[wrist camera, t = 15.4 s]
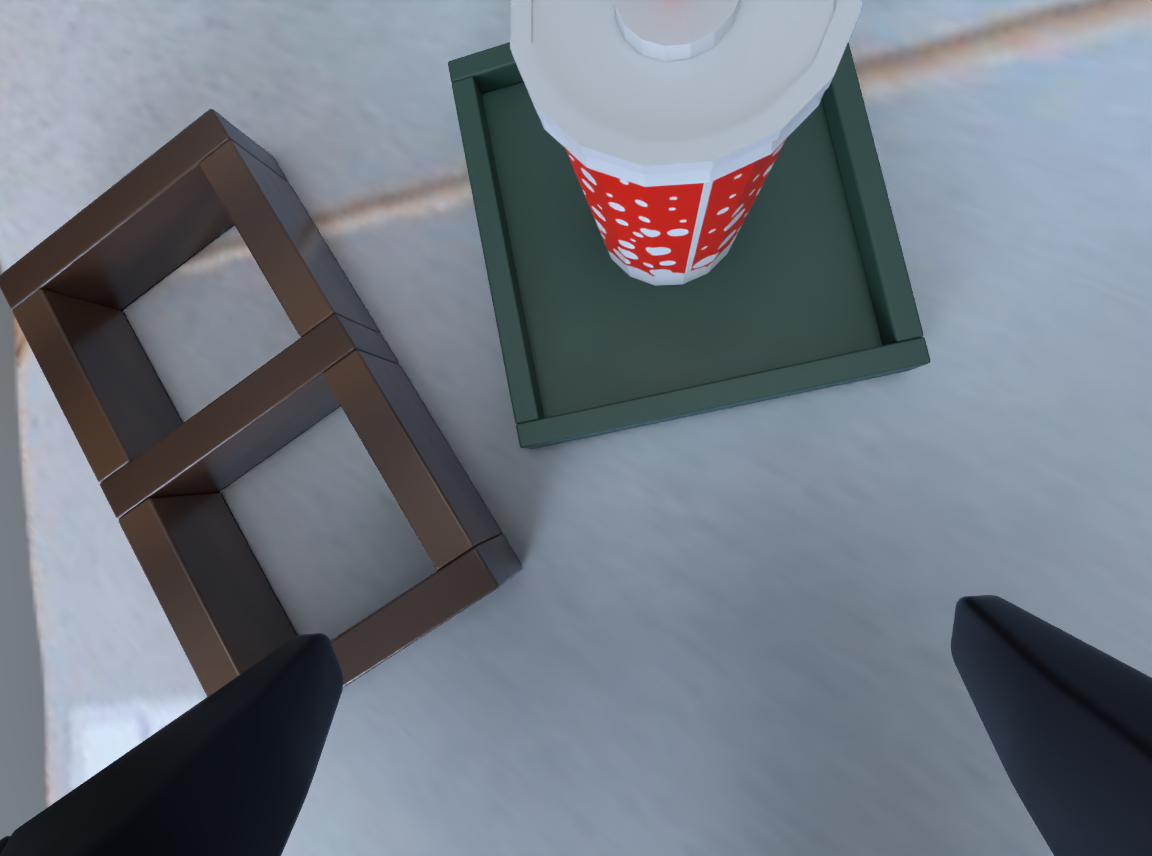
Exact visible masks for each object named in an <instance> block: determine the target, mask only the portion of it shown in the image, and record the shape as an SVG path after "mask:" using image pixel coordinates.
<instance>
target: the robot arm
mask: <svg viewBox="0 0 1152 856" xmlns="http://www.w3.org/2000/svg"><path fill="white" fill-rule="evenodd" d="M951 652H952V656H953V660H954V662H955V665H956V667H957V669H958V671H959V673H960V675H961V678H962V680H963V682H964V684H965V686H966V688H967V690H968V692H969V695H970V697H971V699H972V701H973V703H974V705H975V707H976V709H977V711H978V714H979V716H980V718H981V720H982V722H983V724H984V726H985V728H986V731H987V733H988V735H989V737H990V739H991V741H992V743H993V745H994V748H995V750H996V752H997V754H998V756H999V758H1000V760H1001V762H1002V764H1003V766H1004V768H1005V770H1006V772H1007V774H1008V776H1009V778H1010V780H1011V782H1012V784H1013V786H1014V788H1015V790H1016V791H1017V793H1018V795H1019V797H1020V798H1021V800H1022V802H1023V804H1024V805H1025V807H1026V809H1027V811H1028V812H1029V814H1030V816H1031V817H1032V819H1033V821H1034V822H1035V824H1036V826H1037V827H1038V829H1039V831H1040V832H1041V834H1042V836H1043V837H1044V839H1045V841H1046V843H1047V844H1048V846H1049V848H1050V849H1051V851H1052V853H1053V854H1054V856H1152V678H1151V677H1149V676H1147V675H1145V674H1143V673H1142V672H1140V671H1138V670H1136V669H1134V668H1132V667H1130V666H1128V665H1127V664H1125V663H1123V662H1121V661H1119V660H1117V659H1115V658H1113V657H1111V656H1110V655H1108V654H1106V653H1104V652H1102V651H1100V650H1098V649H1096V648H1095V647H1093V646H1091V645H1089V644H1087V643H1085V642H1083V641H1081V640H1080V639H1078V638H1076V637H1074V636H1072V635H1070V634H1068V633H1066V632H1064V631H1063V630H1061V629H1059V628H1057V627H1055V626H1053V625H1051V624H1049V623H1048V622H1046V621H1044V620H1042V619H1040V618H1038V617H1036V616H1034V615H1032V614H1031V613H1029V612H1027V611H1025V610H1023V609H1021V608H1019V607H1017V606H1016V605H1014V604H1012V603H1010V602H1008V601H1006V600H1004V599H1002V598H1000V597H998V596H994V595H982V596H965V597H962V598H960V599H959V601H958V602H957V605H956V610H955V617H954V624H953V631H952V638H951ZM343 684H344V675H343V670H342V668H341V665H340V663H339V661H338V658H337V656H336V654H335V651H334V649H333V647H332V644H331V642H330V640H329V638H328V637H327V636H326V635H324V634H321V633H318V634H302V635H298V636H296V637H294V638H292V639H291V640H289V641H288V642H287V643H285V644H284V645H282V646H281V647H279V648H278V649H276V650H275V651H274V652H272V653H271V654H269V655H268V656H266V657H265V658H263V659H262V660H261V661H259V662H258V663H256V664H255V665H253V666H252V667H250V668H249V669H248V670H246V671H245V672H243V673H242V674H240V675H239V676H237V677H236V678H235V679H233V680H232V681H230V682H229V683H227V684H226V685H224V686H223V687H222V688H220V689H219V690H217V691H216V692H214V693H213V694H211V695H210V696H208V697H207V698H206V699H204V700H203V701H201V702H200V703H198V704H197V705H195V706H194V707H193V708H191V709H190V710H188V711H187V712H185V713H184V714H182V715H181V716H180V717H178V718H177V719H175V720H174V721H172V722H171V723H169V724H168V725H167V726H165V727H164V728H162V729H161V730H159V731H158V732H156V733H155V734H154V735H152V736H151V737H149V738H148V739H146V740H145V741H143V742H142V743H141V744H139V745H138V746H136V747H135V748H133V749H132V750H130V751H129V752H127V753H126V754H125V755H123V756H122V757H120V758H119V759H117V760H116V761H114V762H113V763H112V764H110V765H109V766H107V767H106V768H104V769H103V770H101V771H100V772H99V773H97V774H96V775H94V776H93V777H91V778H90V779H88V780H87V781H86V782H84V783H83V784H81V785H80V786H78V787H77V788H75V789H74V790H73V791H71V792H70V793H68V794H67V795H65V796H64V797H62V798H61V799H60V800H58V801H57V802H55V803H54V804H52V805H51V806H49V807H48V808H46V809H45V810H44V811H42V812H41V813H39V814H38V815H36V816H35V817H33V818H32V819H31V820H29V821H28V822H26V823H25V824H23V825H22V826H20V827H19V828H18V829H16V830H15V831H14V833H13V834H12V835H11V836H7V837H4V838H3V839H1V840H0V856H281V854H282V852H283V850H284V847H285V845H286V843H287V840H288V838H289V836H290V833H291V831H292V829H293V826H294V824H295V822H296V820H297V817H298V815H299V813H300V810H301V808H302V805H303V803H304V800H305V798H306V796H307V793H308V790H309V787H310V785H311V782H312V779H313V777H314V774H315V771H316V768H317V765H318V762H319V759H320V756H321V753H322V750H323V747H324V744H325V741H326V738H327V735H328V732H329V729H330V726H331V723H332V720H333V717H334V714H335V711H336V708H337V705H338V702H339V698H340V695H341V692H342V689H343Z"/></svg>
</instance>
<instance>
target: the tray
mask: <svg viewBox="0 0 1152 856" xmlns="http://www.w3.org/2000/svg"><path fill="white" fill-rule="evenodd" d="M448 66H449V72H450V77H451V82H452V88H453V94H454V99H455V104H456V110H457V115H458V120H459V125H460V131H461V136H462V141H463V147H464V152H465V157H466V163H467V168H468V173H469V179H470V184H471V189H472V194H473V200H474V205H475V210H476V216H477V221H478V226H479V232H480V237H481V242H482V247H483V253H484V258H485V263H486V269H487V274H488V279H489V285H490V290H491V295H492V301H493V306H494V311H495V316H496V322H497V327H498V332H499V338H500V343H501V348H502V354H503V359H504V364H505V370H506V375H507V380H508V385H509V391H510V396H511V401H512V407H513V412H514V417H515V422H516V423H517V425H516V428H517V433H518V438H519V443H520V447H521V448H529V449H533V448H538V447H542V446H547V445H552V444H557V443H562V442H566V441H571V440H576V439H581V438H586V437H591V436H595V435H600V434H605V433H610V432H615V431H620V430H624V429H629V428H634V427H639V426H644V425H649V424H653V423H658V422H663V421H668V420H673V419H678V418H682V417H687V416H692V415H697V414H702V413H707V412H711V411H716V410H721V409H726V408H731V407H735V406H740V405H745V404H750V403H755V402H760V401H764V400H769V399H774V398H779V397H784V396H789V395H793V394H798V393H803V392H808V391H813V390H818V389H822V388H827V387H832V386H837V385H842V384H847V383H851V382H856V381H861V380H866V379H871V378H876V377H880V376H885V375H890V374H895V373H900V372H904V371H909V370H912V369H914V368H917V367H920V366H923V365H925V364H928V363H930V357H929V353H928V349H927V346H926V342H925V339H924V338H923V337H922V336H923V331H922V327H921V323H920V319H919V315H918V311H917V307H916V304H915V300H914V296H913V292H912V288H911V284H910V280H909V276H908V272H907V269H906V265H905V261H904V257H903V253H902V249H901V245H900V241H899V237H898V233H897V230H896V226H895V222H894V218H893V214H892V210H891V206H890V202H889V198H888V195H887V191H886V187H885V183H884V179H883V175H882V171H881V167H880V163H879V159H878V156H877V152H876V148H875V144H874V140H873V136H872V132H871V128H870V124H869V121H868V117H867V113H866V109H865V105H864V101H863V97H862V93H861V89H860V85H859V82H858V78H857V74H856V70H855V66H854V62H853V58H852V54H851V50H850V47H849V43H847V46H846V48H845V50H844V53H843V55H842V58H841V60H840V62H839V65H838V67H837V70H836V72H835V74H834V77H833V79H832V81H831V83H830V86H829V87H828V88H827V89H826V91H825V92H824V94H823V96H822V99H821V101H820V103H819V106H818V107H817V108H816V109H815V110H814V111H813V112H812V113H811V114H810V115H809V116H808V117H807V118H806V119H805V120H804V121H803V122H802V123H801V124H800V125H799V126H798V127H797V128H796V129H795V130H794V131H793V132H792V133H791V134H790V135H789V136H788V137H787V139H786V141H785V143H784V145H783V146H782V148H781V150H780V152H779V154H778V156H777V158H776V160H775V162H774V164H773V166H772V168H771V170H770V172H769V174H768V176H767V178H766V180H765V182H764V183H763V185H762V187H761V189H760V191H759V193H758V195H757V197H756V199H755V201H754V203H753V205H752V207H751V209H750V211H749V213H748V215H747V217H746V219H745V220H744V222H743V224H742V226H741V228H740V230H739V232H738V234H737V236H736V238H735V240H734V242H733V244H732V246H731V248H730V250H729V252H728V254H727V255H726V256H725V257H724V258H723V259H722V260H721V261H720V262H719V263H718V264H717V265H716V266H715V267H714V268H713V269H712V270H711V271H710V272H709V273H707V274H705V275H703V276H701V277H698V278H696V279H694V280H692V281H689V282H687V283H685V284H683V285H659V286H655V285H652V284H649V283H646V282H644V281H641V280H638V279H635V278H633V277H630V276H629V275H628V274H627V273H626V272H625V271H624V270H623V269H622V268H621V267H619V266H618V265H617V264H616V263H615V262H614V261H613V260H612V259H611V257H610V254H609V252H608V250H607V247H606V245H605V243H604V240H603V238H602V236H601V233H600V231H599V228H598V226H597V224H596V221H595V219H594V216H593V214H592V212H591V209H590V207H589V204H588V202H587V200H586V197H585V195H584V192H583V190H582V188H581V185H580V183H579V180H578V178H577V176H576V173H575V171H574V168H573V166H572V164H571V161H570V159H569V156H568V154H567V152H566V149H565V147H564V146H562V145H561V144H560V143H559V142H558V141H557V140H556V139H555V138H554V137H553V136H551V135H550V134H549V133H548V132H547V131H546V130H545V129H544V127H543V125H542V122H541V120H540V118H539V115H538V114H537V112H536V109H535V107H534V105H533V102H532V100H531V98H530V95H529V93H528V90H527V88H526V86H525V83H524V81H523V79H522V76H521V74H520V72H519V69H518V67H517V65H516V62H515V60H514V57H513V55H512V52H511V49H510V42H509V43H506V44H503V45H500V46H497V47H493V48H490V49H487V50H484V51H481V52H477V53H474V54H471V55H468V56H465V57H461V58H458V59H455V60H452V61H449V62H448Z"/></svg>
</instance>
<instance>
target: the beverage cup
mask: <svg viewBox="0 0 1152 856" xmlns="http://www.w3.org/2000/svg"><path fill="white" fill-rule="evenodd" d="M861 10H862V3H861V0H511V8H510V49H511V52H512V55H513V57H514V60H515V62H516V65H517V67H518V69H519V72H520V74H521V76H522V79H523V81H524V83H525V86H526V88H527V90H528V93H529V95H530V98H531V100H532V102H533V105H534V107H535V109H536V112H537V114H538V115H539V118H540V120H541V122H542V125H543V127H544V129H545V130H546V131H547V132H548V133H549V134H550V135H551V136H553V137H554V138H555V139H556V140H557V141H558V142H559V143H560V144H561V145H562V146H564V147H565V149H566V152H567V154H568V156H569V159H570V161H571V164H572V166H573V168H574V171H575V173H576V176H577V178H578V180H579V183H580V185H581V188H582V190H583V192H584V195H585V197H586V200H587V202H588V204H589V207H590V209H591V212H592V214H593V216H594V219H595V221H596V224H597V226H598V228H599V231H600V233H601V236H602V238H603V240H604V243H605V245H606V247H607V250H608V252H609V254H610V257H611V259H612V260H613V261H614V262H615V263H616V264H617V265H618V266H619V267H621V268H622V269H623V270H624V271H625V272H626V273H627V274H628V275H629V276H630V277H633V278H635V279H638V280H641V281H644V282H646V283H649V284H652V285H655V286H659V285H683V284H685V283H687V282H689V281H692V280H694V279H696V278H698V277H701V276H703V275H705V274H707V273H709V272H710V271H711V270H712V269H713V268H714V267H715V266H716V265H717V264H718V263H719V262H720V261H721V260H722V259H723V258H724V257H725V256H726V255H727V254H728V252H729V250H730V248H731V246H732V244H733V242H734V240H735V238H736V236H737V234H738V232H739V230H740V228H741V226H742V224H743V222H744V220H745V219H746V217H747V215H748V213H749V211H750V209H751V207H752V205H753V203H754V201H755V199H756V197H757V195H758V193H759V191H760V189H761V187H762V185H763V183H764V182H765V180H766V178H767V176H768V174H769V172H770V170H771V168H772V166H773V164H774V162H775V160H776V158H777V156H778V154H779V152H780V150H781V148H782V146H783V145H784V143H785V141H786V139H787V137H788V136H789V135H790V134H791V133H792V132H793V131H794V130H795V129H796V128H797V127H798V126H799V125H800V124H801V123H802V122H803V121H804V120H805V119H806V118H807V117H808V116H809V115H810V114H811V113H812V112H813V111H814V110H815V109H816V108H817V107H818V106H819V103H820V101H821V99H822V96H823V94H824V92H825V91H826V89H827V88H828V87H829V86H830V83H831V81H832V79H833V77H834V74H835V72H836V70H837V67H838V65H839V62H840V60H841V58H842V55H843V53H844V50H845V48H846V46H847V43H848V41H849V38H850V36H851V34H852V31H853V29H854V26H855V24H856V22H857V19H858V17H859V14H860V12H861Z"/></svg>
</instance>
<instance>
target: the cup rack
mask: <svg viewBox="0 0 1152 856" xmlns="http://www.w3.org/2000/svg"><path fill="white" fill-rule="evenodd" d="M233 224H235V226H236V228H237V229H238V231H239V233H240V235H241V236H242V238H243V240H244V241H245V243H246V245H247V247H248V248H249V250H250V252H251V253H252V255H253V257H254V259H255V260H256V262H257V264H258V265H259V267H260V269H261V270H262V272H263V274H264V276H265V277H266V279H267V281H268V282H269V284H270V286H271V288H272V289H273V291H274V293H275V294H276V296H277V298H278V299H279V301H280V303H281V305H282V306H283V308H284V310H285V311H286V313H287V315H288V317H289V318H290V320H291V322H292V323H293V325H294V327H295V328H296V330H297V332H298V334H299V335H300V336H301V338H300V339H299V340H297V341H296V342H295V343H293V344H292V345H290V346H289V347H288V348H286V349H285V350H284V351H282V352H281V353H279V354H278V355H277V356H275V357H274V358H273V359H271V360H270V361H268V362H267V363H266V364H264V365H263V366H262V367H260V368H259V369H257V370H256V371H255V372H253V373H252V374H251V375H249V376H248V377H246V378H245V379H244V380H242V381H241V382H240V383H238V384H237V385H235V386H234V387H233V388H231V389H230V390H229V391H227V392H226V393H224V394H223V395H222V396H220V397H219V398H217V399H216V400H215V401H213V402H212V403H211V404H209V405H208V406H206V407H205V408H204V409H202V410H201V411H200V412H198V413H197V414H195V415H194V416H193V417H191V418H190V419H189V420H187V421H186V422H184V423H183V424H182V422H181V420H180V418H179V416H178V415H177V413H176V411H175V409H174V407H173V405H172V403H171V402H170V400H169V398H168V396H167V394H166V392H165V390H164V389H163V387H162V385H161V383H160V381H159V379H158V377H157V376H156V374H155V372H154V370H153V368H152V366H151V364H150V363H149V361H148V359H147V357H146V355H145V353H144V351H143V350H142V348H141V346H140V344H139V342H138V340H137V338H136V336H135V335H134V333H133V331H132V329H131V327H130V325H129V323H128V322H127V320H126V318H125V316H124V314H123V312H122V311H120V310H122V309H123V308H124V307H125V306H127V305H128V304H129V303H131V302H132V301H133V300H135V299H136V298H137V297H139V296H140V295H141V294H143V293H144V292H145V291H146V290H148V289H149V288H150V287H152V286H153V285H154V284H156V283H157V282H158V281H160V280H161V279H162V278H164V277H165V276H166V275H167V274H169V273H170V272H171V271H173V270H174V269H175V268H177V267H178V266H179V265H181V264H182V263H183V262H185V261H186V260H187V259H188V258H190V257H191V256H192V255H194V254H195V253H196V252H198V251H199V250H200V249H202V248H203V247H204V246H206V245H207V244H208V243H209V242H211V241H212V240H213V239H215V238H216V237H217V236H219V235H220V234H221V233H223V232H224V231H225V230H226V229H228V228H229V227H230V226H232V225H233ZM0 288H1V290H2V292H3V294H4V296H5V298H6V300H7V302H8V304H9V306H10V308H11V309H13V314H14V316H15V318H16V320H17V322H18V324H19V326H20V328H21V330H22V332H23V333H24V335H25V337H26V339H27V341H28V343H29V345H30V347H31V349H32V351H33V353H34V355H35V357H36V359H37V361H38V363H39V365H40V367H41V369H42V371H43V373H44V375H45V377H46V379H47V381H48V383H49V385H50V387H51V389H52V391H53V393H54V395H55V397H56V399H57V401H58V403H59V405H60V407H61V409H62V411H63V413H64V415H65V416H66V418H67V420H68V422H69V424H70V426H71V428H72V430H73V432H74V434H75V436H76V438H77V440H78V442H79V444H80V446H81V448H82V450H83V452H84V454H85V456H86V458H87V460H88V462H89V464H90V466H91V468H92V470H93V472H94V474H95V476H96V478H97V480H98V481H99V482H101V484H100V486H101V488H102V490H103V492H104V494H105V496H106V498H107V500H108V502H109V504H110V506H111V508H112V510H113V512H114V514H115V516H116V517H117V518H120V519H119V523H120V525H121V527H122V529H123V531H124V533H125V535H126V537H127V539H128V541H129V543H130V545H131V547H132V549H133V551H134V553H135V555H136V557H137V559H138V561H139V563H140V565H141V567H142V569H143V571H144V573H145V575H146V577H147V578H148V580H149V582H150V584H151V586H152V588H153V590H154V592H155V594H156V596H157V598H158V600H159V602H160V604H161V606H162V608H163V610H164V612H165V614H166V616H167V618H168V620H169V622H170V624H171V626H172V628H173V630H174V632H175V634H176V636H177V638H178V640H179V642H180V644H181V646H182V648H183V650H184V652H185V654H186V656H187V658H188V660H189V661H190V663H191V665H192V667H193V669H194V671H195V673H196V675H197V677H198V679H199V681H200V683H201V685H202V687H203V689H204V691H205V693H206V695H207V697H208V696H210V695H211V694H213V693H214V692H216V691H217V690H219V689H220V688H222V687H223V686H224V685H226V684H227V683H229V682H230V681H232V680H233V679H235V678H236V677H237V676H239V675H240V674H242V673H243V672H245V671H246V670H248V669H249V668H250V667H252V666H253V665H255V664H256V663H258V662H259V661H261V660H262V659H263V658H265V657H266V656H268V655H269V654H271V653H272V652H274V651H275V650H276V649H278V648H279V647H281V646H282V645H284V644H285V643H287V642H288V641H289V640H291V639H292V638H294V637H296V634H295V632H294V630H293V628H292V626H291V625H290V623H289V621H288V619H287V617H286V615H285V613H284V612H283V610H282V608H281V606H280V604H279V602H278V600H277V599H276V597H275V595H274V593H273V591H272V589H271V587H270V586H269V584H268V582H267V580H266V578H265V576H264V574H263V573H262V571H261V569H260V567H259V565H258V563H257V561H256V560H255V558H254V556H253V554H252V552H251V550H250V548H249V547H248V545H247V543H246V541H245V539H244V537H243V535H242V534H241V532H240V530H239V528H238V526H237V524H236V522H235V521H234V519H233V517H232V515H231V513H230V511H229V509H228V507H227V506H226V504H225V502H224V500H223V498H222V496H221V494H220V493H217V492H219V491H220V490H222V489H223V488H224V487H226V486H227V485H229V484H230V483H232V482H233V481H234V480H236V479H237V478H239V477H240V476H241V475H243V474H244V473H246V472H247V471H249V470H250V469H251V468H253V467H254V466H256V465H257V464H259V463H260V462H261V461H263V460H264V459H266V458H267V457H268V456H270V455H271V454H273V453H274V452H276V451H277V450H278V449H280V448H281V447H283V446H284V445H285V444H287V443H288V442H290V441H291V440H293V439H294V438H295V437H297V436H298V435H300V434H301V433H302V432H304V431H305V430H307V429H308V428H310V427H311V426H312V425H314V424H315V423H317V422H318V421H319V420H321V419H322V418H324V417H325V416H327V415H328V414H329V413H331V412H332V411H334V410H335V409H336V408H338V407H339V406H341V407H342V408H343V410H344V412H345V413H346V415H347V417H348V419H349V420H350V422H351V424H352V425H353V427H354V429H355V430H356V432H357V434H358V436H359V437H360V439H361V441H362V442H363V444H364V446H365V448H366V449H367V451H368V453H369V454H370V456H371V458H372V460H373V461H374V463H375V465H376V466H377V468H378V470H379V471H380V473H381V475H382V477H383V478H384V480H385V482H386V483H387V485H388V487H389V489H390V490H391V492H392V494H393V495H394V497H395V499H396V500H397V502H398V504H399V506H400V507H401V509H402V511H403V512H404V514H405V516H406V518H407V519H408V521H409V523H410V524H411V526H412V528H413V529H414V531H415V533H416V535H417V536H418V538H419V540H420V541H421V543H422V545H423V547H424V548H425V550H426V552H427V553H428V555H429V557H430V558H431V560H432V562H433V564H434V565H435V567H436V568H437V569H439V570H438V571H436V572H435V573H433V574H432V575H430V576H429V577H427V578H426V579H424V580H423V581H421V582H420V583H418V584H416V585H415V586H413V587H412V588H410V589H409V590H407V591H406V592H404V593H403V594H401V595H400V596H398V597H397V598H395V599H394V600H392V601H391V602H389V603H388V604H386V605H384V606H383V607H381V608H380V609H378V610H377V611H375V612H374V613H372V614H371V615H369V616H368V617H366V618H365V619H363V620H362V621H360V622H359V623H357V624H355V625H354V626H352V627H351V628H349V629H348V630H346V631H345V632H343V633H342V634H340V635H339V636H337V637H336V638H334V639H333V640H331V641H330V642H331V644H332V647H333V649H334V651H335V654H336V656H337V658H338V661H339V663H340V665H341V668H342V670H343V675H344V684H343V687H345V686H347V685H348V684H350V683H351V682H353V681H354V680H356V679H357V678H359V677H361V676H362V675H364V674H365V673H367V672H368V671H370V670H371V669H373V668H375V667H376V666H378V665H379V664H381V663H382V662H384V661H385V660H387V659H389V658H390V657H392V656H393V655H395V654H396V653H398V652H399V651H401V650H403V649H404V648H406V647H407V646H409V645H410V644H412V643H413V642H415V641H417V640H418V639H420V638H421V637H423V636H424V635H426V634H427V633H429V632H430V631H432V630H434V629H435V628H437V627H438V626H440V625H441V624H443V623H444V622H446V621H448V620H449V619H451V618H452V617H454V616H455V615H457V614H458V613H460V612H462V611H463V610H465V609H466V608H468V607H469V606H471V605H472V604H474V603H476V602H477V601H479V600H480V599H482V598H483V597H485V596H486V595H488V594H490V593H491V592H493V591H494V590H496V589H497V588H499V587H500V586H501V585H502V584H504V583H505V582H506V581H507V580H509V579H510V578H511V577H512V576H514V575H515V574H516V573H517V572H519V571H520V570H521V569H522V565H521V563H520V561H519V560H518V558H517V556H516V555H515V553H514V552H513V550H512V548H511V547H510V545H509V543H508V542H507V540H506V538H505V537H504V535H502V534H501V530H500V529H499V527H498V525H497V524H496V522H495V520H494V519H493V517H492V515H491V514H490V512H489V511H488V509H487V507H486V506H485V504H484V502H483V501H482V499H481V497H480V496H479V494H478V492H477V491H476V489H475V488H474V486H473V484H472V483H471V481H470V479H469V478H468V476H467V474H466V473H465V471H464V470H463V468H462V466H461V465H460V463H459V461H458V460H457V458H456V456H455V455H454V453H453V451H452V450H451V448H450V447H449V445H448V443H447V442H446V440H445V438H444V437H443V435H442V433H441V432H440V430H439V429H438V427H437V425H436V424H435V422H434V420H433V419H432V417H431V415H430V414H429V412H428V410H427V409H426V407H425V406H424V404H423V402H422V401H421V399H420V397H419V396H418V394H417V392H416V391H415V389H414V388H413V386H412V384H411V383H410V381H409V379H408V378H407V376H406V374H405V373H404V371H403V369H402V368H401V366H400V365H398V361H397V360H396V358H395V356H394V355H393V353H392V351H391V350H390V348H389V346H388V345H387V343H386V342H385V340H384V338H383V337H382V335H381V334H380V332H379V330H378V328H377V327H376V325H375V323H374V322H373V320H372V318H371V317H370V315H369V313H368V312H367V310H366V309H365V307H364V305H363V304H362V302H361V300H360V299H359V297H358V295H357V294H356V292H355V291H354V289H353V287H352V286H351V284H350V282H349V281H348V279H347V277H346V276H345V274H344V272H343V271H342V269H341V268H340V266H339V264H338V263H337V261H336V259H335V258H334V256H333V254H332V253H331V251H330V250H329V248H328V246H327V245H326V243H325V241H324V240H323V238H322V236H321V235H320V233H319V231H318V230H317V228H316V227H315V225H314V223H313V222H312V220H311V218H310V217H309V215H308V213H307V212H306V210H305V209H304V207H303V205H302V204H301V202H300V200H299V199H298V197H297V195H296V194H295V192H294V190H293V189H292V187H291V186H290V184H289V183H288V182H287V179H286V178H285V176H284V174H283V173H282V171H281V170H280V168H279V166H278V165H277V163H276V161H275V160H274V158H273V156H272V155H270V154H269V153H268V152H267V151H265V150H264V149H263V148H262V147H260V146H259V145H258V144H256V143H255V142H254V141H253V140H251V139H250V138H249V137H248V136H246V135H245V134H244V133H242V132H241V131H240V130H239V129H237V128H236V127H235V126H234V125H232V124H231V123H230V122H228V121H227V120H226V119H225V118H223V117H222V116H221V115H220V114H218V113H217V112H216V111H214V110H213V109H209V110H208V111H207V112H206V113H204V114H203V115H202V116H201V117H199V118H198V119H197V120H196V121H194V122H193V123H192V124H190V125H189V126H188V127H187V128H185V129H184V130H183V131H182V132H180V133H179V134H178V135H177V136H175V137H174V138H173V139H172V140H170V141H169V142H168V143H166V144H165V145H164V146H163V147H161V148H160V149H159V150H158V151H156V152H155V153H154V154H153V155H151V156H150V157H149V158H148V159H146V160H145V161H144V162H142V163H141V164H140V165H139V166H137V167H136V168H135V169H134V170H132V171H131V172H130V173H129V174H127V175H126V176H125V177H124V178H122V179H121V180H120V181H118V182H117V183H116V184H115V185H113V186H112V187H111V188H110V189H108V190H107V191H106V192H105V193H103V194H102V195H101V196H100V197H98V198H97V199H96V200H94V201H93V202H92V203H91V204H89V205H88V206H87V207H86V208H84V209H83V210H82V211H81V212H79V213H78V214H77V215H76V216H74V217H73V218H72V219H71V220H69V221H68V222H67V223H65V224H64V225H63V226H62V227H60V228H59V229H58V230H57V231H55V232H54V233H53V234H52V235H50V236H49V237H48V238H47V239H45V240H44V241H43V242H41V243H40V244H39V245H38V246H36V247H35V248H34V249H33V250H31V251H30V252H29V253H28V254H26V255H25V256H24V257H23V258H21V259H20V260H19V261H17V262H16V263H15V264H14V265H12V266H11V267H10V268H9V269H7V270H6V271H5V272H4V273H2V274H1V275H0ZM500 534H501V535H500Z"/></svg>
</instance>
